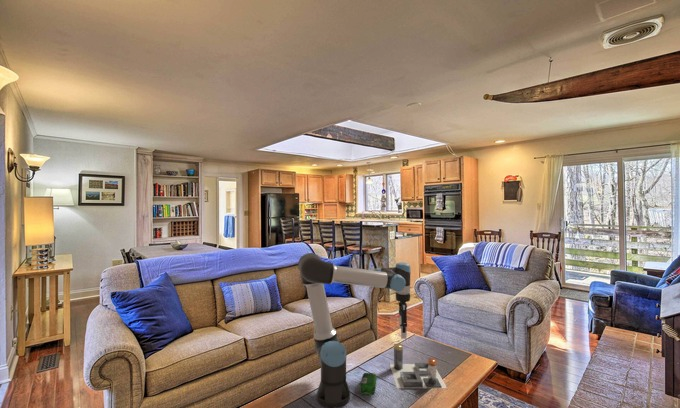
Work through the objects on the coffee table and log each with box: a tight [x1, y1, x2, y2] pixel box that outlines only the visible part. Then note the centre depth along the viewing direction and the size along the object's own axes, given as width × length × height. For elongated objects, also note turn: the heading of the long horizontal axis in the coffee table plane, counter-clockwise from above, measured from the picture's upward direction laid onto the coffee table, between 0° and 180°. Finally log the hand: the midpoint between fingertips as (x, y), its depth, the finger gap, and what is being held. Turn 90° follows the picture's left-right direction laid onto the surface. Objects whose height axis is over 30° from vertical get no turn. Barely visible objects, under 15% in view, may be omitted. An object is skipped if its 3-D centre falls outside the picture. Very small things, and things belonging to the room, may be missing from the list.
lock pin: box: [427, 357, 438, 385], centre depth 152 cm, size 4×4×11 cm
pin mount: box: [400, 372, 424, 389], centre depth 154 cm, size 9×9×3 cm
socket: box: [414, 362, 428, 375], centre depth 164 cm, size 8×8×2 cm
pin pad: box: [423, 378, 443, 389], centre depth 153 cm, size 7×7×1 cm
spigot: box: [393, 343, 404, 370], centre depth 167 cm, size 5×5×12 cm
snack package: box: [359, 372, 378, 396], centre depth 149 cm, size 7×16×5 cm, turn 168°
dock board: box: [389, 363, 448, 389], centre depth 160 cm, size 24×22×1 cm
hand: (402, 332), depth 164 cm, fingers open, 13 cm apart
